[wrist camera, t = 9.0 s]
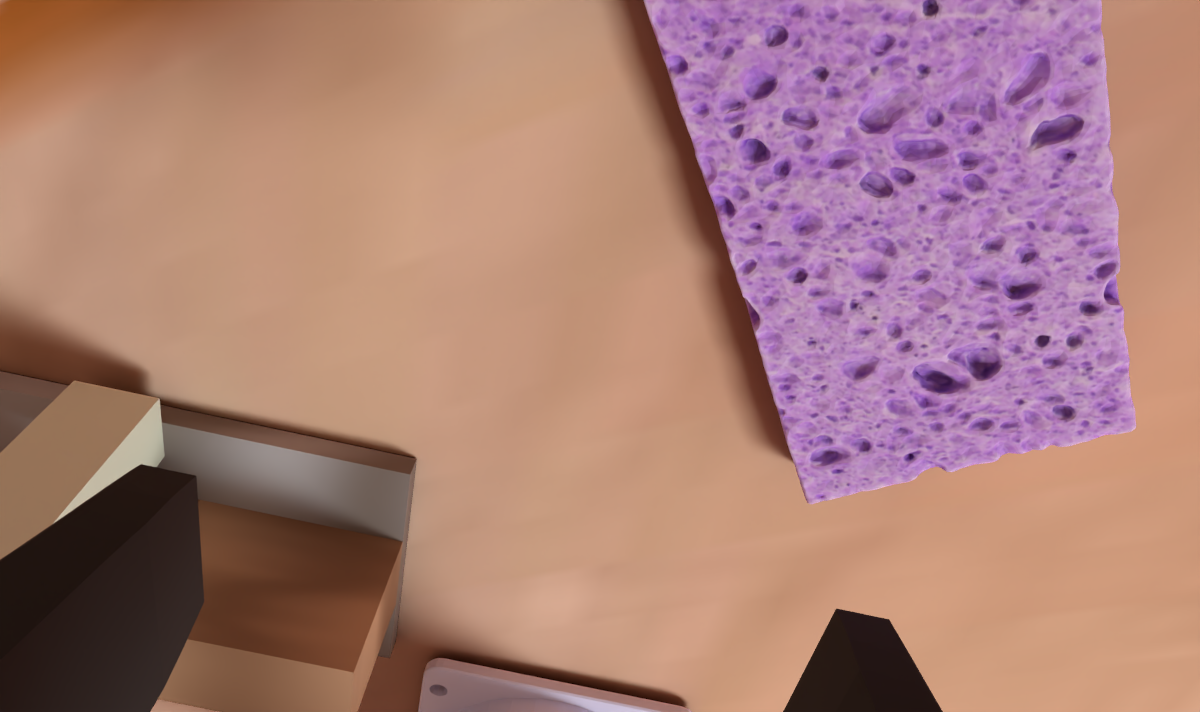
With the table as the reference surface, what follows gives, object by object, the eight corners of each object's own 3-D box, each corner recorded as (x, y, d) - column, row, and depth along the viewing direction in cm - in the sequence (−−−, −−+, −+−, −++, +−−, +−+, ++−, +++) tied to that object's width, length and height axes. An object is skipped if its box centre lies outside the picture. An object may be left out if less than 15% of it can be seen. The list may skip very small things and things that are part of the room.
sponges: (796, 454, 22) (804, 507, 20) (621, -83, 16) (613, -67, 14) (1107, 384, 20) (1143, 436, 19) (1047, -254, 14) (1092, -257, 12)
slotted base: (416, 458, 22) (359, 602, 18) (395, 640, 26) (344, 791, 22) (-156, 338, 22) (-339, 460, 18) (-92, 542, 26) (-232, 679, 22)
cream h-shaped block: (179, 621, 25) (26, 875, 20) (108, 607, 25) (-66, 857, 20) (159, 398, 21) (-46, 637, 15) (74, 380, 21) (-165, 614, 15)
